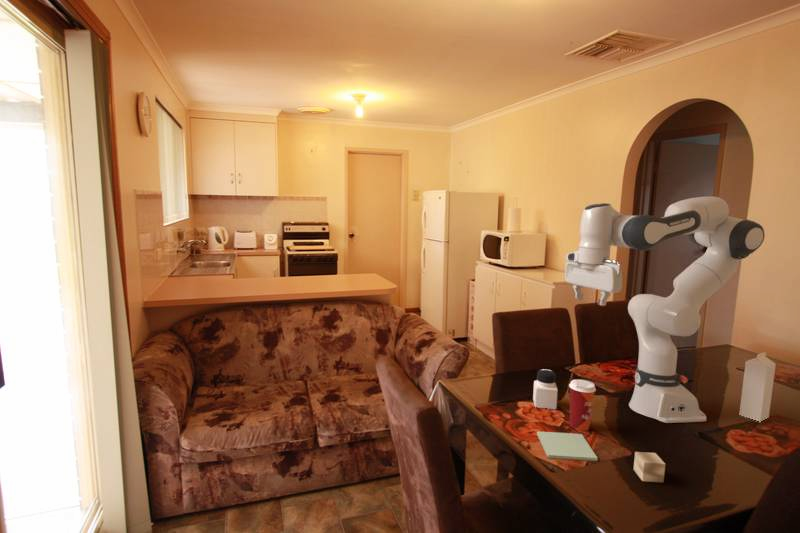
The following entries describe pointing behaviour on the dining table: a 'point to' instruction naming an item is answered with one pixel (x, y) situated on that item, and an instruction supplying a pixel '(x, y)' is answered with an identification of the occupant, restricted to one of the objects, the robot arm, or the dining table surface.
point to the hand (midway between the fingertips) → (590, 302)
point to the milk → (757, 388)
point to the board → (566, 446)
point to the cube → (649, 467)
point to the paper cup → (581, 403)
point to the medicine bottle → (545, 390)
